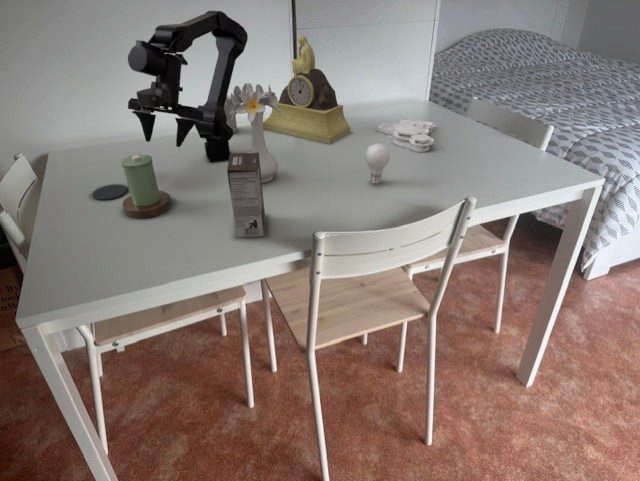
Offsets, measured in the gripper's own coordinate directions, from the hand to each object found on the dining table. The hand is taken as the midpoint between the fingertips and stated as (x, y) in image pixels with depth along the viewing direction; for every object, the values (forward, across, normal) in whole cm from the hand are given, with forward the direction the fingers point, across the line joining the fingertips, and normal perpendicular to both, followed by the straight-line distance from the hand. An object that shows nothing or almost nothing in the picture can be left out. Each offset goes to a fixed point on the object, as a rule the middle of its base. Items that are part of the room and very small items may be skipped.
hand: (162, 144), depth 114 cm
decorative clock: (-10, +18, +52) cm, 56 cm away
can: (-5, -8, +43) cm, 44 cm away
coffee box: (+15, +31, -7) cm, 35 cm away
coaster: (+14, -12, -4) cm, 19 cm away
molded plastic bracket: (-13, +52, +57) cm, 79 cm away
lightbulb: (+2, +52, +22) cm, 56 cm away
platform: (+15, +2, -7) cm, 17 cm away
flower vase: (+6, +20, +16) cm, 26 cm away
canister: (+14, +2, -8) cm, 16 cm away
